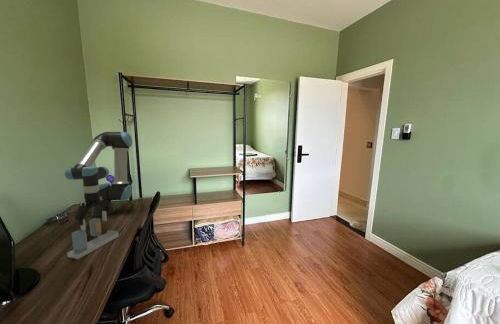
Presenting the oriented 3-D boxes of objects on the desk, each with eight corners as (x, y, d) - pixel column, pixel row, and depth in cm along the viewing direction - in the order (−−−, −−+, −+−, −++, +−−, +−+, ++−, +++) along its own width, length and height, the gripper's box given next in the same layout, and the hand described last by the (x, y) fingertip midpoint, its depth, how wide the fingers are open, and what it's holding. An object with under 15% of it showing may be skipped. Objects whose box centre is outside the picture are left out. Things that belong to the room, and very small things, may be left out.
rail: (109, 234, 129) (108, 216, 127) (118, 236, 127) (117, 217, 126) (67, 257, 106) (64, 234, 104) (78, 259, 104) (75, 236, 103)
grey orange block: (90, 235, 128) (88, 220, 126) (96, 232, 132) (95, 217, 130) (96, 236, 127) (94, 221, 125) (102, 233, 131) (100, 218, 129)
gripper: (105, 186, 138) (108, 216, 141) (64, 197, 114) (68, 233, 117) (114, 187, 136) (116, 217, 139) (74, 198, 112) (78, 234, 115)
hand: (94, 224), depth 128 cm, fingers open, 13 cm apart
